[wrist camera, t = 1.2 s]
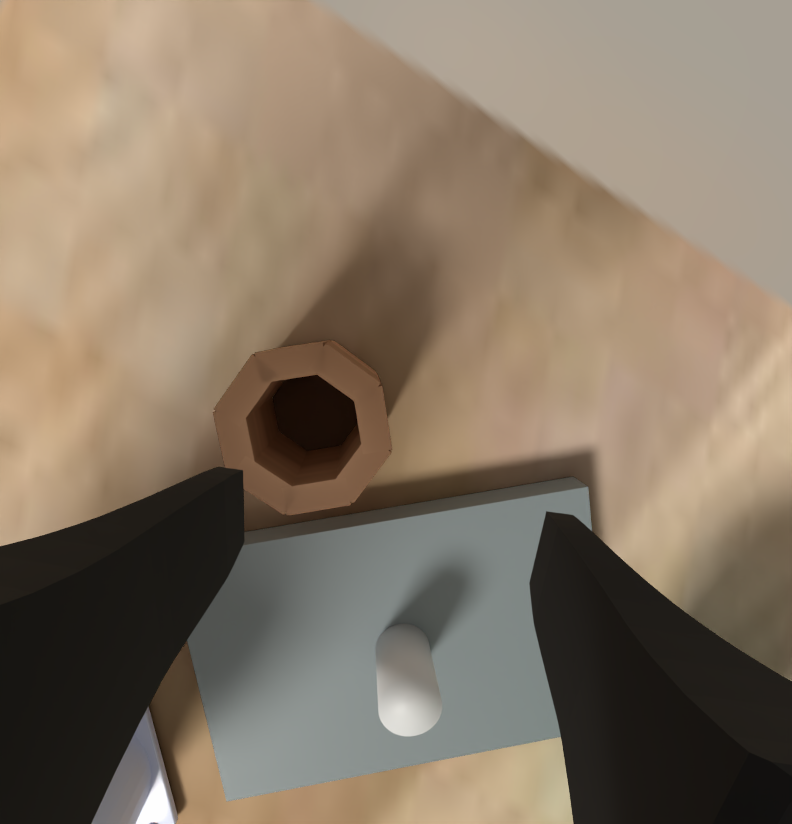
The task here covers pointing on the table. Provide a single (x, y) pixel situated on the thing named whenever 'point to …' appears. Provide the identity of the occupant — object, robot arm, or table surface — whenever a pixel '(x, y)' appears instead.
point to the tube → (280, 456)
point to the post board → (338, 611)
